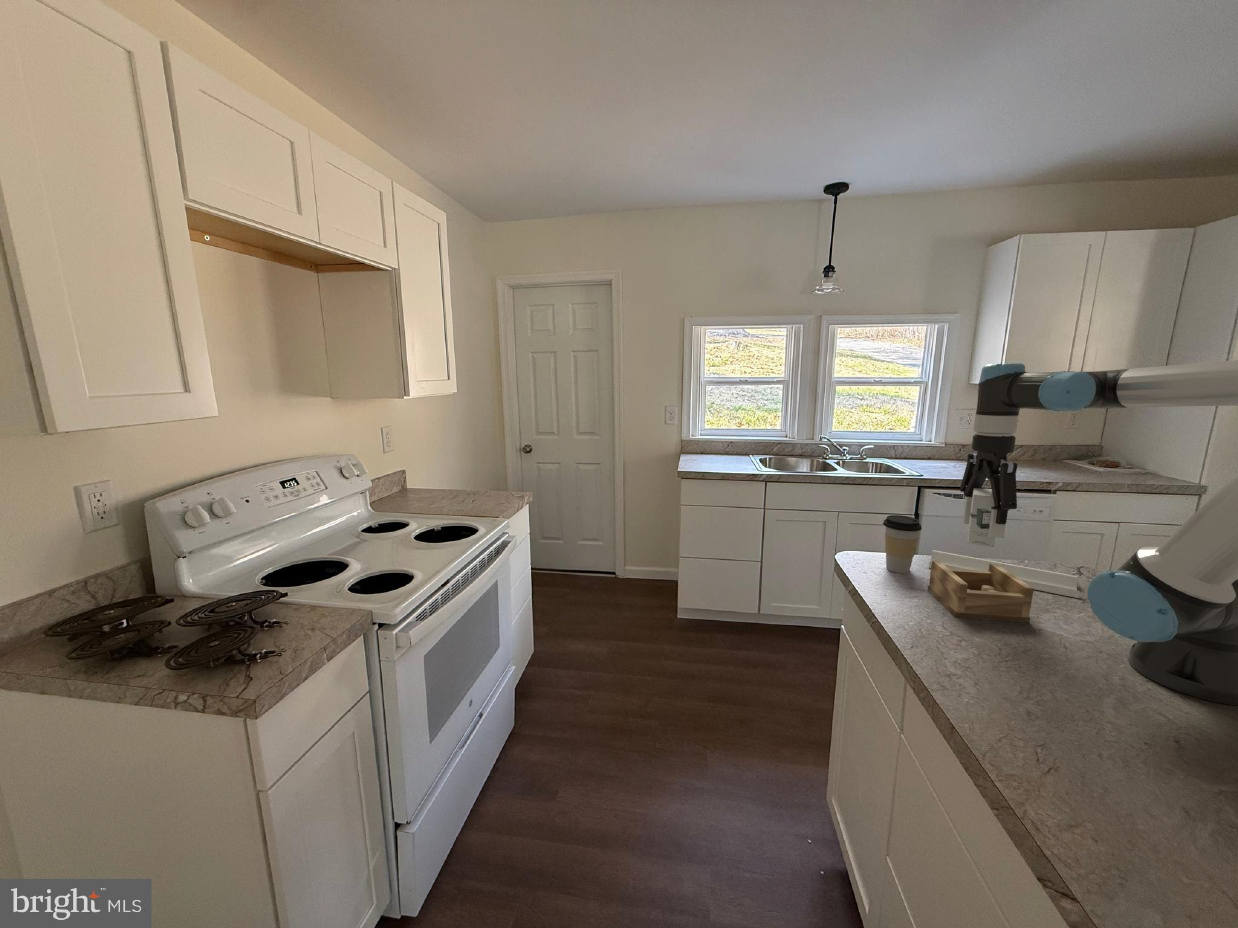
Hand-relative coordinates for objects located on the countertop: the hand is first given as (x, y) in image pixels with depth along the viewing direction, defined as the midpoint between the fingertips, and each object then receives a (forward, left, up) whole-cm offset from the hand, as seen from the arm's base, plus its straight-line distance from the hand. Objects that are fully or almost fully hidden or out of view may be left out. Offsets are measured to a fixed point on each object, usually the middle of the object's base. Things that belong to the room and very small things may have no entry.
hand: (982, 529), depth 109 cm
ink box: (0, 0, -3) cm, 3 cm away
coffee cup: (+21, +9, -20) cm, 30 cm away
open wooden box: (+1, -1, -19) cm, 19 cm away
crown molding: (+21, -17, -20) cm, 34 cm away
